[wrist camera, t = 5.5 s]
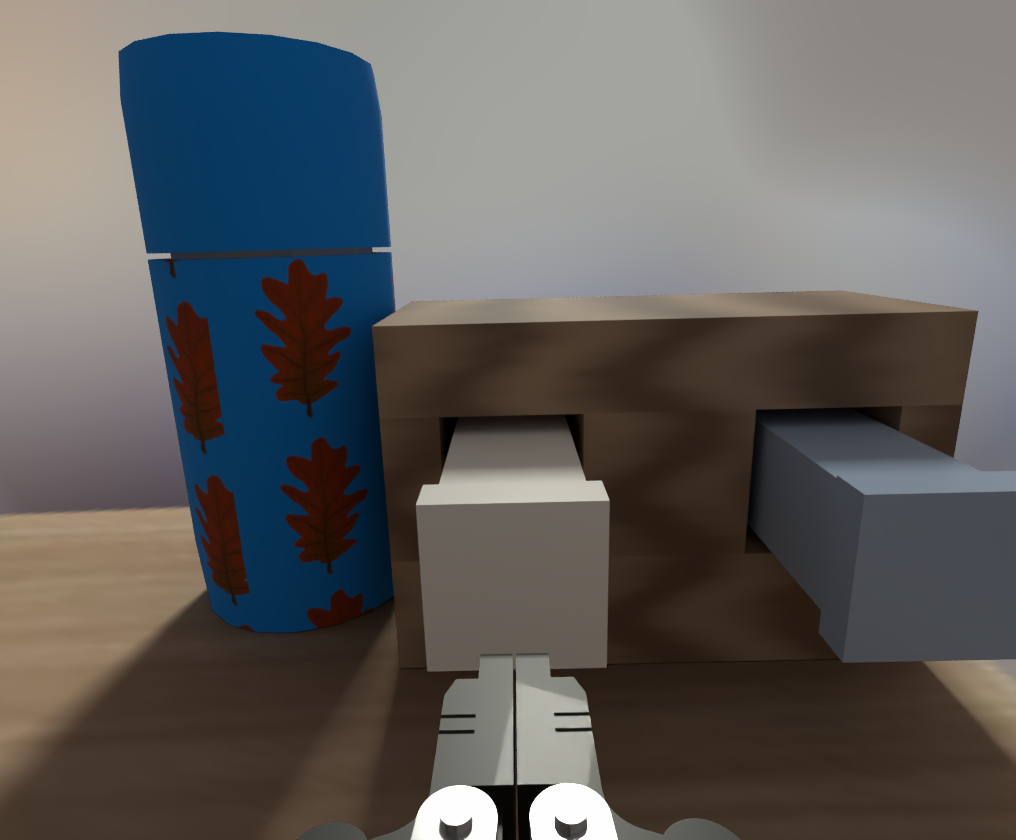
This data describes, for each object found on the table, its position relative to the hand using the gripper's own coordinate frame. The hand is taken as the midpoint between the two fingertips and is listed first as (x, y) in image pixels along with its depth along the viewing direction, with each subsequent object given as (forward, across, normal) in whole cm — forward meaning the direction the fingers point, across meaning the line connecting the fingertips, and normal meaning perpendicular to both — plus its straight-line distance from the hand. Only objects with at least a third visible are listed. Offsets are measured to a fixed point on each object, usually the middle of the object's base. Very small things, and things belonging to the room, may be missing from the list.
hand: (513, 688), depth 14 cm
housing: (+17, -6, +8) cm, 19 cm away
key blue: (+10, -12, +3) cm, 16 cm away
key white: (+10, 0, +3) cm, 10 cm away
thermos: (+20, +11, +8) cm, 24 cm away
